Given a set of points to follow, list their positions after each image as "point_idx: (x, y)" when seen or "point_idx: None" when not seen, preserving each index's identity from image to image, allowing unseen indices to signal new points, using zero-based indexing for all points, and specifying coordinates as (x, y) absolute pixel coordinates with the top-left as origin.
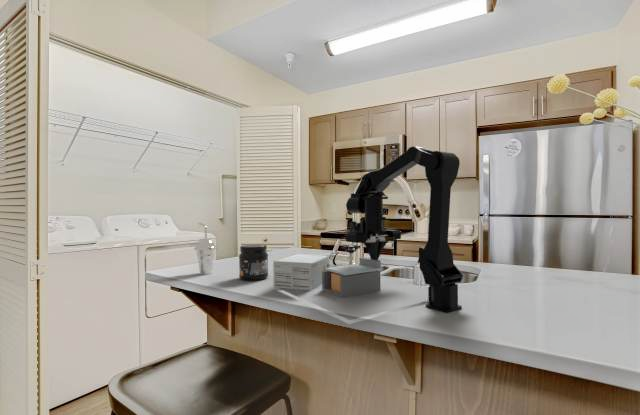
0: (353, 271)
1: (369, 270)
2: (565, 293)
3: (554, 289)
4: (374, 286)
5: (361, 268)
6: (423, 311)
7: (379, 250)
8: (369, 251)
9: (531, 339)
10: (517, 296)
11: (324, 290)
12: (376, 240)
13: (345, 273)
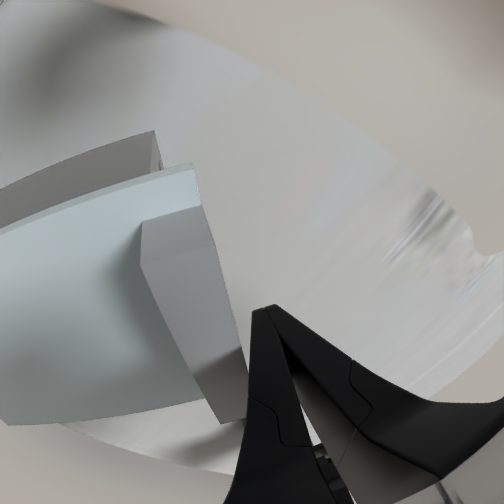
0: (42, 416)
1: (138, 408)
2: (476, 341)
3: (491, 322)
4: None
5: (97, 382)
6: (211, 425)
7: (324, 445)
8: (251, 423)
9: None
10: (434, 355)
11: None
12: (405, 502)
13: (9, 424)
